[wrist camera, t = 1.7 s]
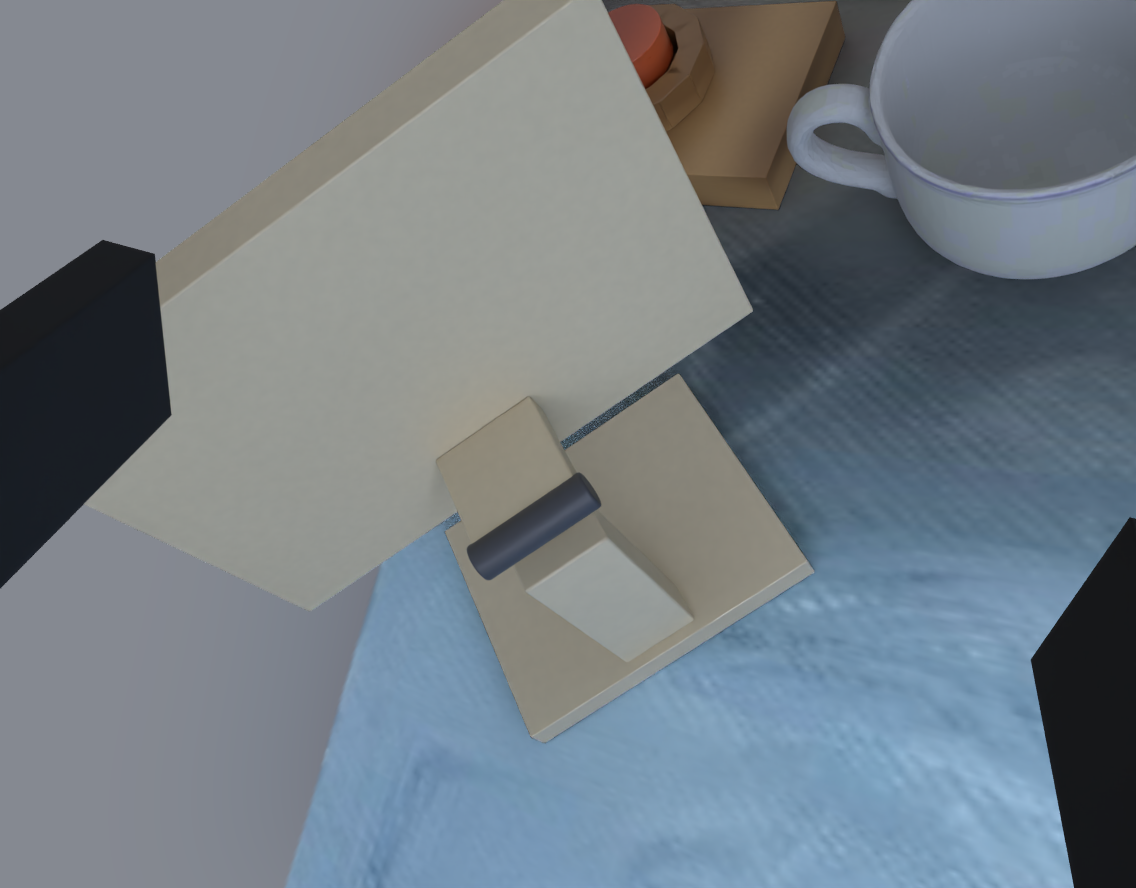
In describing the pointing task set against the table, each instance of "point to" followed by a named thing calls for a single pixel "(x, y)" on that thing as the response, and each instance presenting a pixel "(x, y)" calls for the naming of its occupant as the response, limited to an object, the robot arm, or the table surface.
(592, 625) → the monitor stand
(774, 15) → the tan block
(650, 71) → the power button
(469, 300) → the panel
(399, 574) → the table surface
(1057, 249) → the teacup
